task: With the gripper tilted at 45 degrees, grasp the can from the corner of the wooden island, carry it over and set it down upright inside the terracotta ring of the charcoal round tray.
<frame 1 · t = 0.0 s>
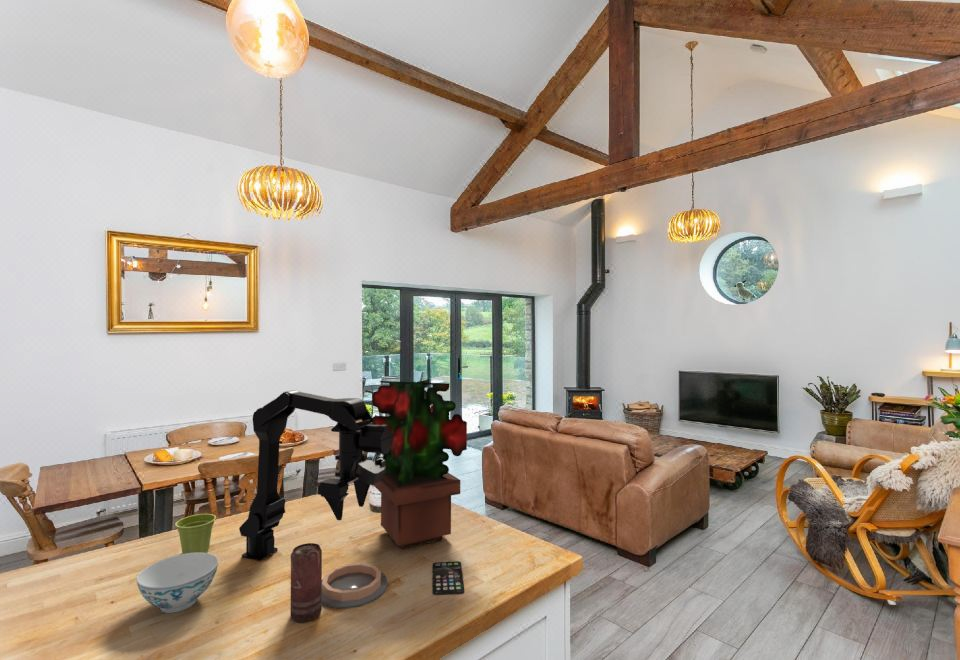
hand: (350, 513, 116), 15 cm above the kitchen island, tool pointing down, fingers open, 9 cm apart
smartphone: (447, 579, 114), on the kitchen island
plant pot: (195, 553, 126), on the kitchen island
potted plant: (415, 536, 137), on the kitchen island
can: (306, 615, 99), on the kitchen island
ring tray: (352, 588, 109), on the kitchen island
chinaware: (178, 604, 103), on the kitchen island
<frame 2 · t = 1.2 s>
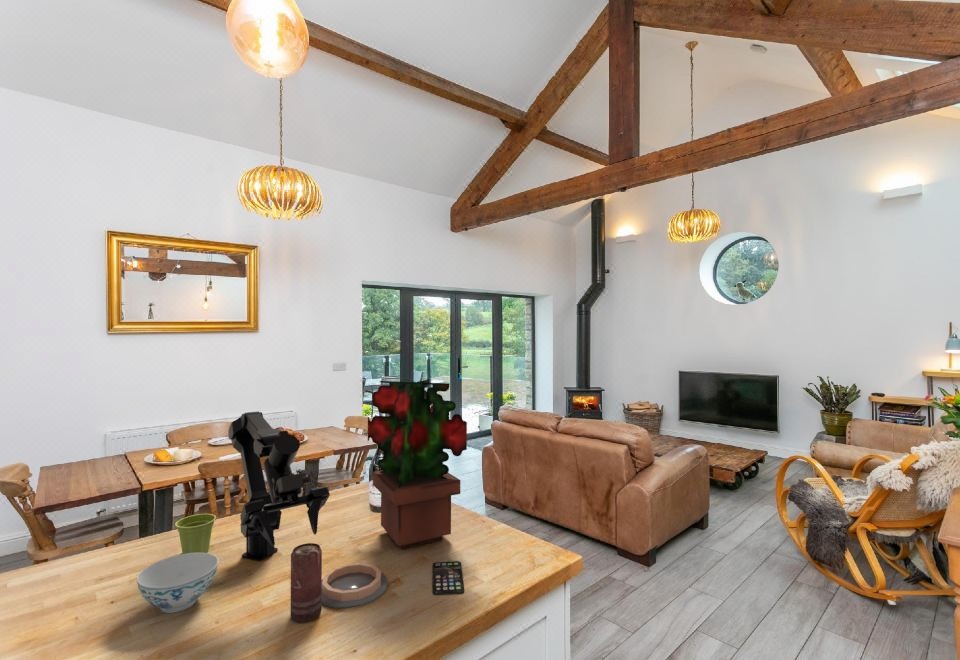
hand: (295, 539, 105), 13 cm above the kitchen island, tool tilted 45°, fingers open, 9 cm apart
nothing on the kitchen island moved.
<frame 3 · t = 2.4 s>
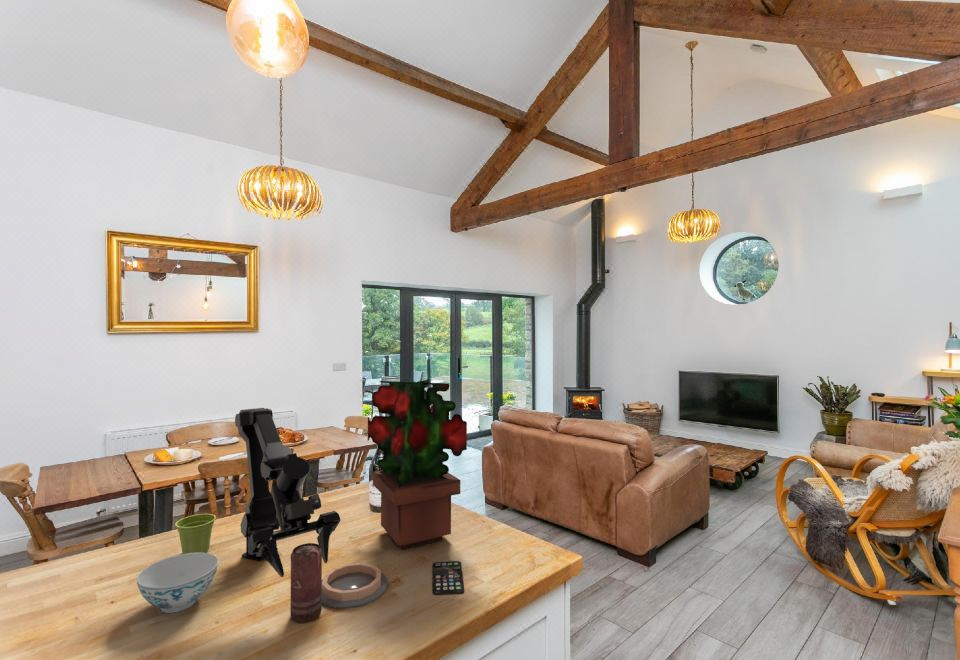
hand: (305, 569, 100), 9 cm above the kitchen island, tool tilted 45°, fingers open, 9 cm apart
nothing on the kitchen island moved.
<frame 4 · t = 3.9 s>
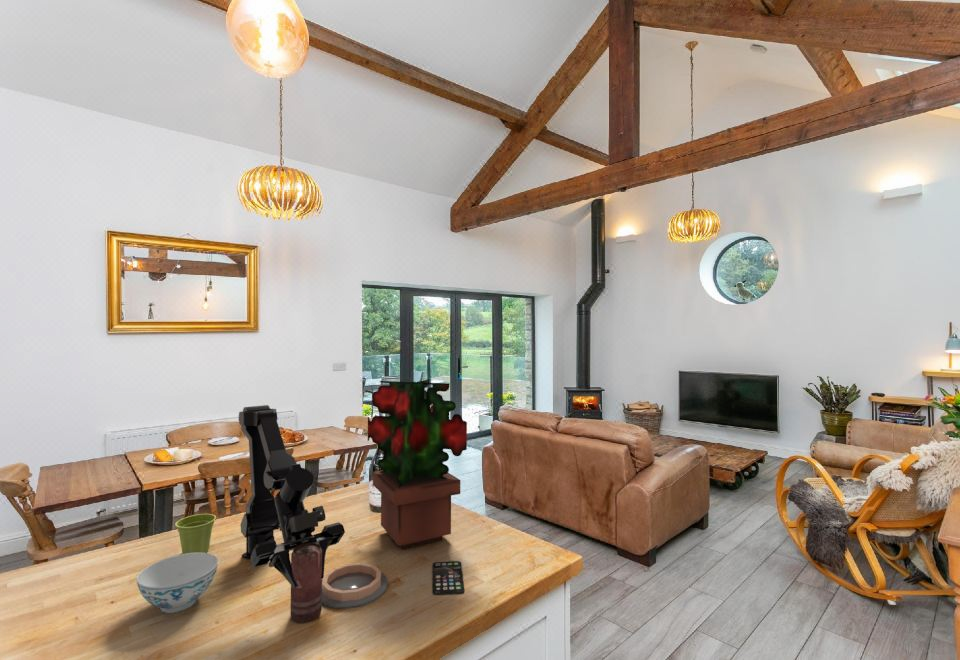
hand: (309, 583, 98), 7 cm above the kitchen island, tool tilted 45°, fingers closed on can, 5 cm apart
can: (306, 615, 99), on the kitchen island, touching gripper
everything else where it was.
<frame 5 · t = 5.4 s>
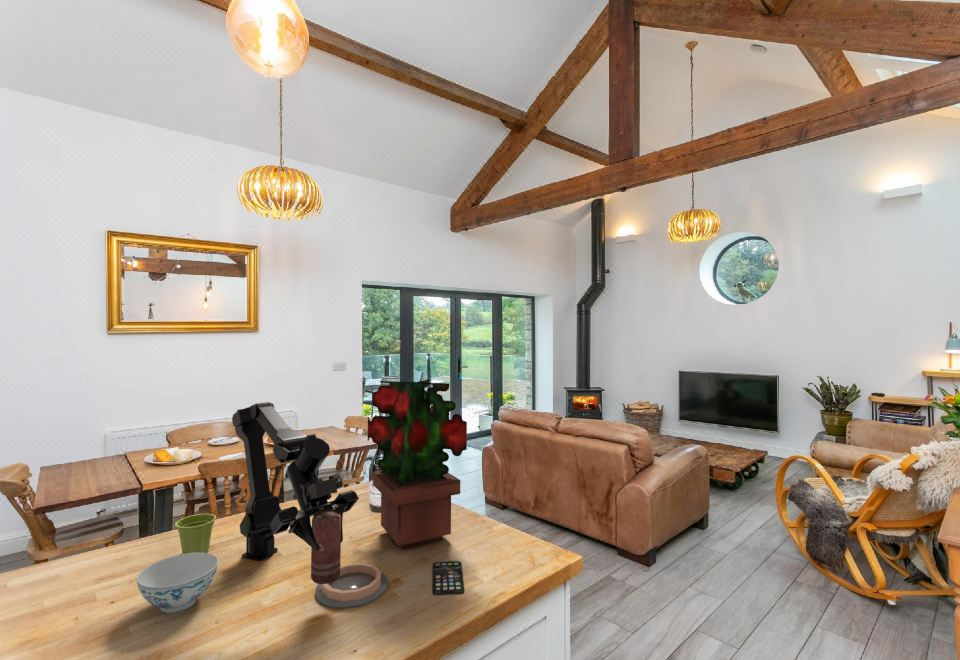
hand: (330, 546, 102), 13 cm above the kitchen island, tool tilted 45°, fingers closed on can, 5 cm apart
can: (326, 578, 103), point 6 cm above the kitchen island, touching gripper
everything else where it was.
when the fingers open (9 cm above the kitchen island, at t = 7.3 s): can drops 1 cm, resting on ring tray.
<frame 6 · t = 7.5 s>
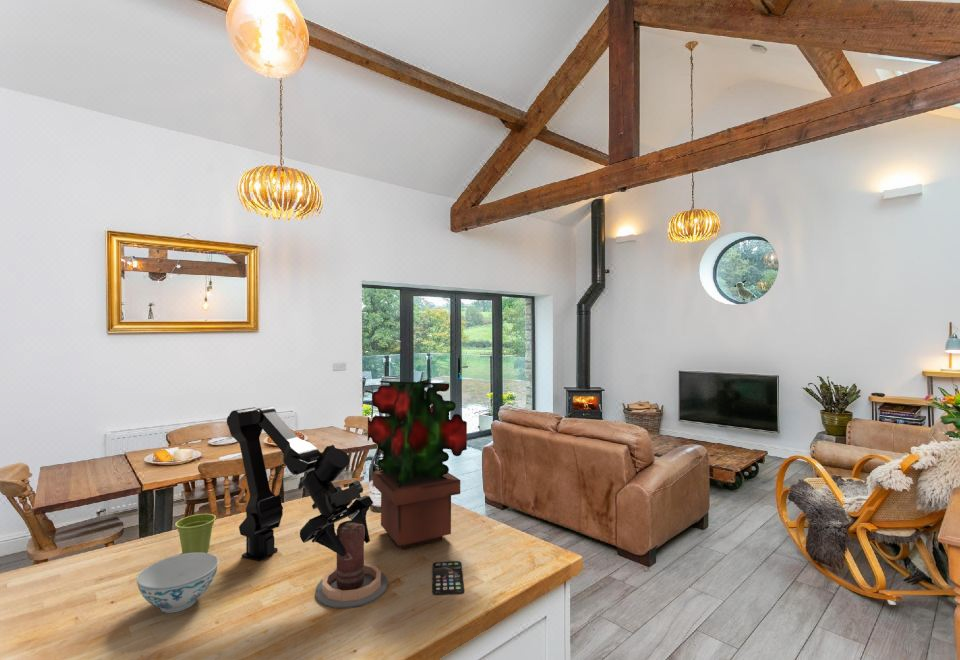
hand: (356, 548, 108), 10 cm above the kitchen island, tool tilted 45°, fingers open, 7 cm apart
can: (350, 585, 109), point 1 cm above the kitchen island, touching ring tray
everything else where it was.
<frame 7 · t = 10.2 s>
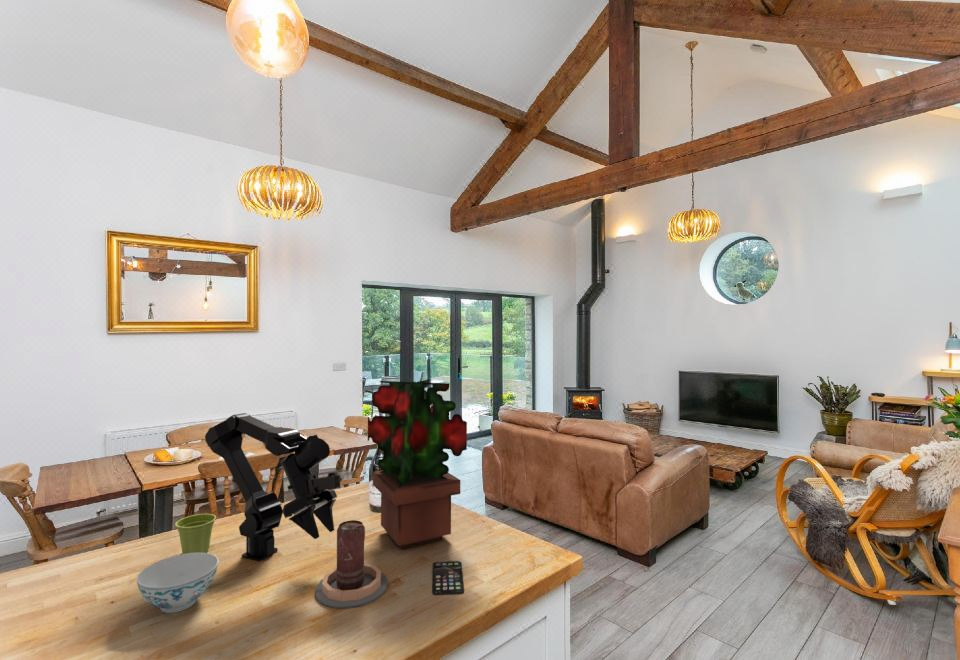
hand: (325, 534, 115), 10 cm above the kitchen island, tool tilted 35°, fingers open, 9 cm apart
nothing on the kitchen island moved.
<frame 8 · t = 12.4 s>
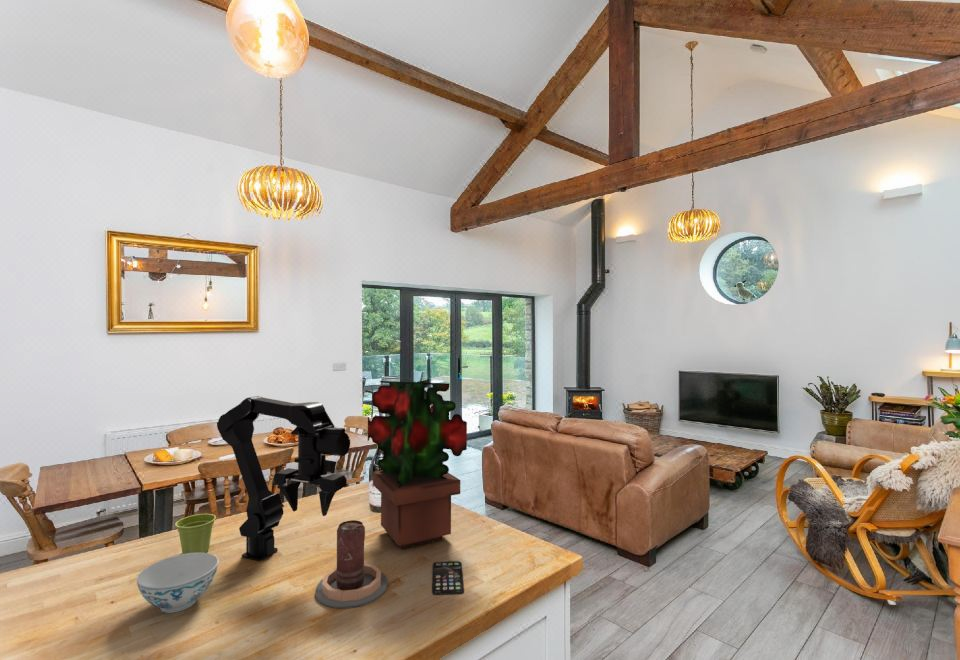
hand: (309, 513, 120), 13 cm above the kitchen island, tool pointing down, fingers open, 9 cm apart
nothing on the kitchen island moved.
at the end: can 0.3 cm off-centre on the ring tray, point 0.6 cm above the ring tray's base; can tilted 0°; the gripper is holding nothing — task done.
